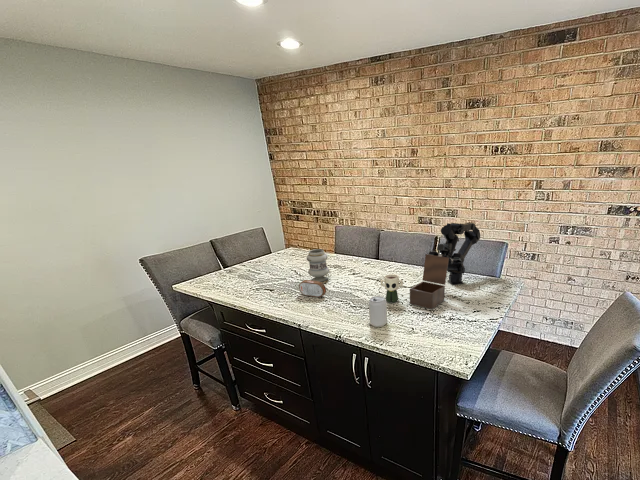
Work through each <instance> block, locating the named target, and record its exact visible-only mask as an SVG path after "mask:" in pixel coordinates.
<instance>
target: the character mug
mask: <svg viewBox="0 0 640 480" xmlns="http://www.w3.org/2000/svg"><path fill="white" fill-rule="evenodd" d="M383 282H384V283H383ZM403 285H404V282H403V279H400V277H399V275H398V274H395V273H394V274H393V273H392V274H391V273H390V274H389V273H388V274H386V275H384V278H383V279H380V286H381V287H384V289H385V290H386V294H385V300H386V303H391V302H392V303H396V302H398V301H399V295H398V289H399V288H400V287H403Z"/></svg>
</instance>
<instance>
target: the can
mask: <svg viewBox="0 0 640 480" xmlns="http://www.w3.org/2000/svg"><path fill="white" fill-rule="evenodd" d="M387 311H388V307H387V301H386V297H384V296H381V295H374V296H371V297H370V298H369V301H368V314H369V315H368V316H369V317H368V318H369V324H370V325H371V326H372V327H376V328H379V327H380V328H381V327H384V326H385V325H386V324H387V323H388V312H387Z"/></svg>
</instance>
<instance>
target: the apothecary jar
mask: <svg viewBox="0 0 640 480" xmlns="http://www.w3.org/2000/svg"><path fill="white" fill-rule="evenodd" d="M327 259H328V255H327V253H325V251H324V249H321V248H315V249H311V250H309V251H308V254H307V255H306V261H307V262H308V265H309V269H308V271H307V273H308V275H309V276H311V277H312V278H311V280H312V281H319V282H321V283H323V284H324V283H326V282H328V281H329V278H328V277H326V276H327V275H329V273H330V268H329V267H328V266H327Z"/></svg>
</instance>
